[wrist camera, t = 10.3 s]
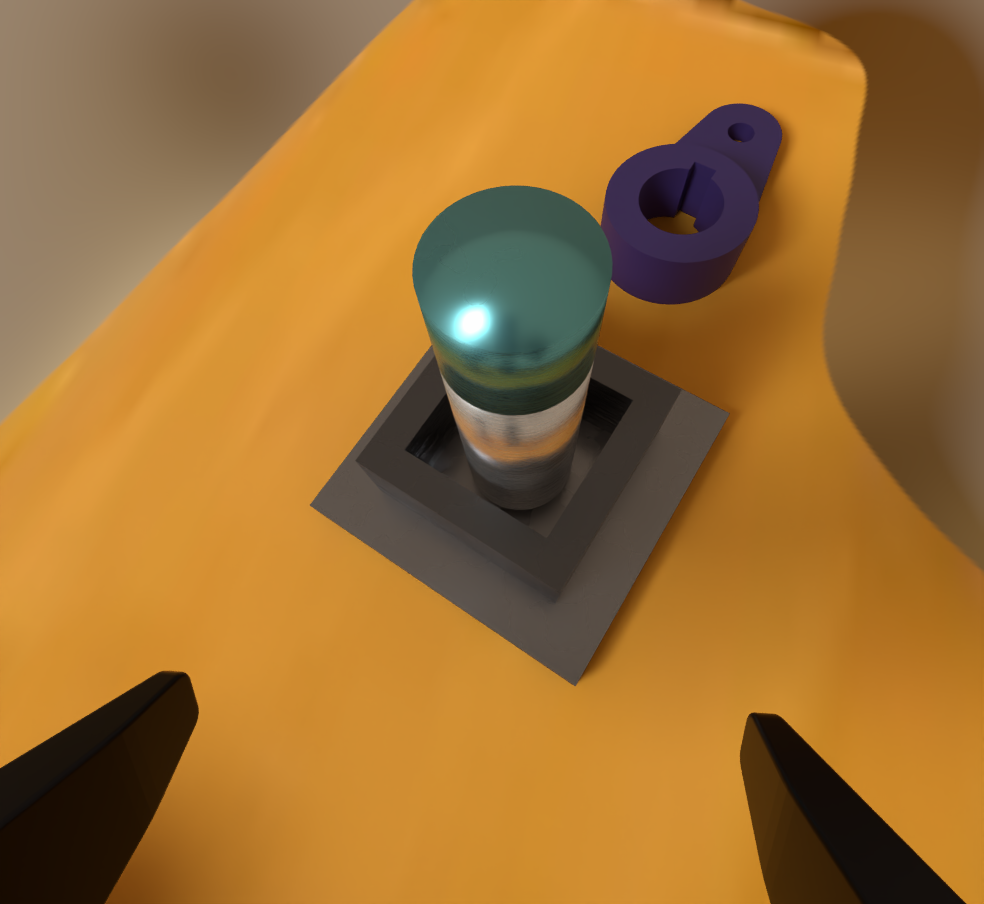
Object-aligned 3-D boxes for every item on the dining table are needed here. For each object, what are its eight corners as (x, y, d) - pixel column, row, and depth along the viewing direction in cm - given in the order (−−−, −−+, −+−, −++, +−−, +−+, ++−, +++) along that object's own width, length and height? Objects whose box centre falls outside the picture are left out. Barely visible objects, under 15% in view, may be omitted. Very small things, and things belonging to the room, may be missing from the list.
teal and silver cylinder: (592, 470, 23) (654, 278, 11) (509, 530, 22) (488, 390, 11) (530, 396, 24) (531, 156, 13) (450, 450, 23) (375, 250, 12)
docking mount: (722, 423, 24) (763, 371, 20) (573, 685, 21) (584, 690, 17) (480, 297, 27) (470, 228, 23) (318, 511, 24) (272, 478, 19)
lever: (693, 330, 26) (714, 287, 23) (572, 269, 27) (577, 220, 24) (808, 153, 29) (840, 95, 26) (693, 106, 30) (711, 46, 27)
